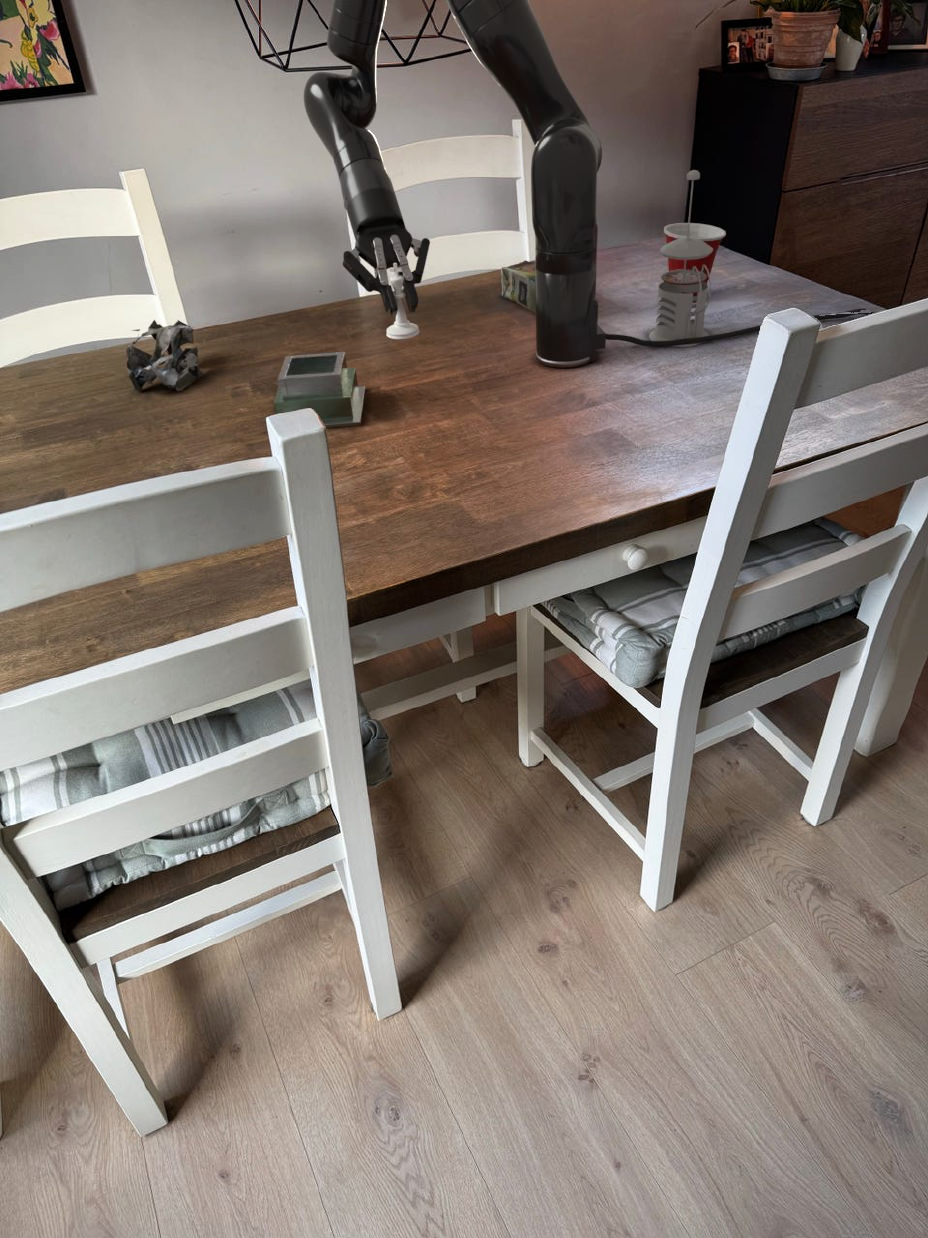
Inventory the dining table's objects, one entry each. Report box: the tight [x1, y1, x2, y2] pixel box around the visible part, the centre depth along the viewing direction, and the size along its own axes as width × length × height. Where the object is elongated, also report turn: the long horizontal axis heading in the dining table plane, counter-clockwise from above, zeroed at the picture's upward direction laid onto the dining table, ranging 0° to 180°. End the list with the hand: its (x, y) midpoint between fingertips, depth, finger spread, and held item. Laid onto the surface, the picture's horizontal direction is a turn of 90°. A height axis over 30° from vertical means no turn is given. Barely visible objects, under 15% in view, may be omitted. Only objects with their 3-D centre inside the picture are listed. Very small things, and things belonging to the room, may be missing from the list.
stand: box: [272, 351, 366, 429], centre depth 126 cm, size 13×13×7 cm
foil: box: [125, 319, 204, 393], centre depth 140 cm, size 12×11×15 cm
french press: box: [648, 169, 713, 348], centre depth 134 cm, size 10×12×25 cm
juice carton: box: [500, 259, 536, 314], centre depth 158 cm, size 20×10×6 cm, turn 27°
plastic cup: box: [663, 222, 727, 303], centre depth 154 cm, size 11×11×12 cm
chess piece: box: [385, 263, 420, 340], centre depth 124 cm, size 5×5×10 cm
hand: (404, 310), depth 123 cm, fingers closed on chess piece
